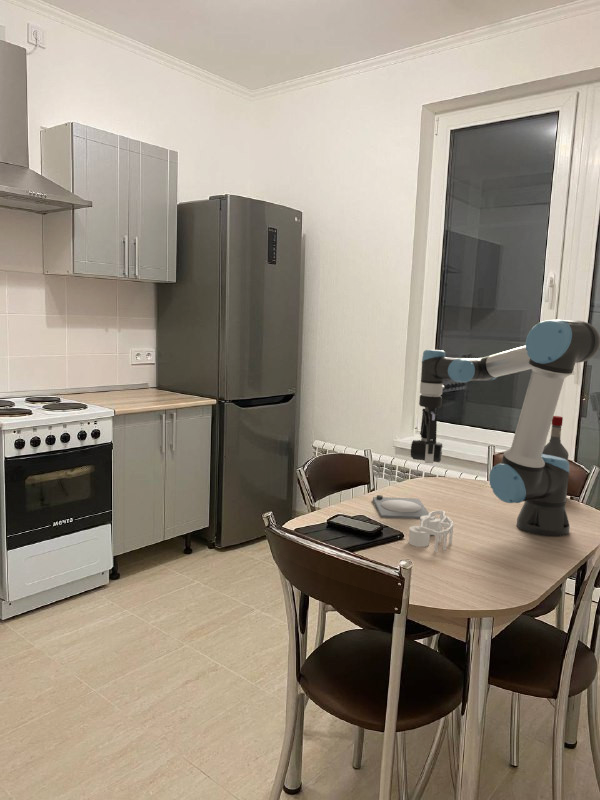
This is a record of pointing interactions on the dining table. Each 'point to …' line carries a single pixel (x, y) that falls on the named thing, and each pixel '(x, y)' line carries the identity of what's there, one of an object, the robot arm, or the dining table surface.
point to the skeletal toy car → (431, 530)
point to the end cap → (420, 448)
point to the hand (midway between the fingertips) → (426, 459)
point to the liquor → (556, 440)
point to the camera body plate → (399, 507)
